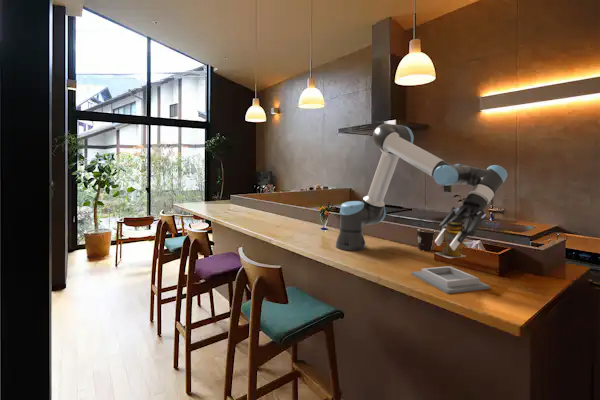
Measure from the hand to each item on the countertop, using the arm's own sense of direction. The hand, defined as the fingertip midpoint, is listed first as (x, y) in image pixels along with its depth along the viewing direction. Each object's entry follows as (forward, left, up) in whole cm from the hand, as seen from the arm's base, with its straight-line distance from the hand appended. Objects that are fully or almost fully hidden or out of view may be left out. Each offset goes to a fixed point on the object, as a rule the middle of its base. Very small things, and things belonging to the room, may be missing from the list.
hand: (444, 245), depth 120 cm
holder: (-1, +3, -14) cm, 14 cm away
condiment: (-1, +4, -4) cm, 6 cm away
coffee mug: (-44, +25, -14) cm, 52 cm away
